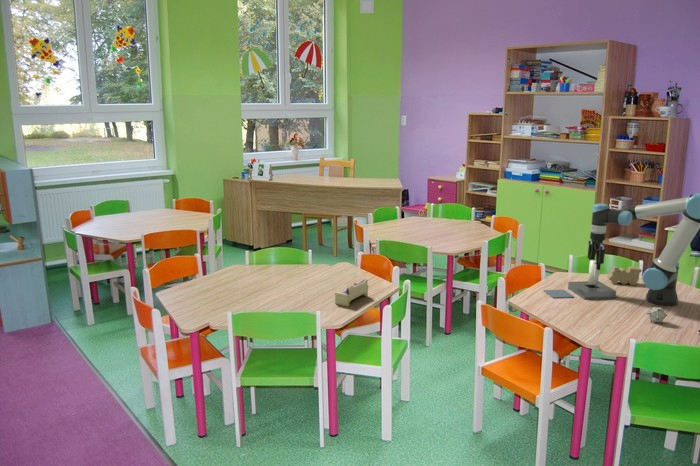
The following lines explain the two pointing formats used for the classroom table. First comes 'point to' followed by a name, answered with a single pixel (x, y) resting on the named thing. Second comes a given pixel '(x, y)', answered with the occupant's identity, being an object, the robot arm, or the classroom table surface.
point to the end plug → (593, 278)
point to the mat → (558, 294)
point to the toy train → (624, 275)
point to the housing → (591, 290)
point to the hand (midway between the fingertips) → (594, 273)
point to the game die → (657, 314)
